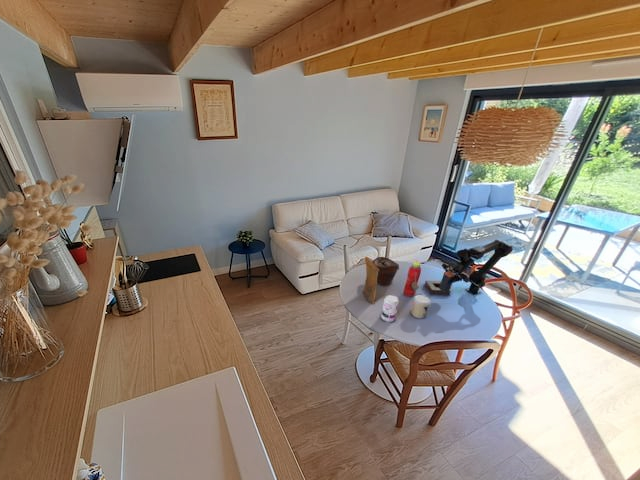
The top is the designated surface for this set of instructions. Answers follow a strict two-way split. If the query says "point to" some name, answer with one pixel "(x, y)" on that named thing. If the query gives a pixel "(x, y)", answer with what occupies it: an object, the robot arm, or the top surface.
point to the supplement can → (389, 308)
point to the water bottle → (412, 279)
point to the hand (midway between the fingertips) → (445, 281)
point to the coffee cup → (420, 306)
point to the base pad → (435, 288)
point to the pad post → (446, 281)
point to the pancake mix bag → (370, 280)
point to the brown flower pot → (385, 270)
